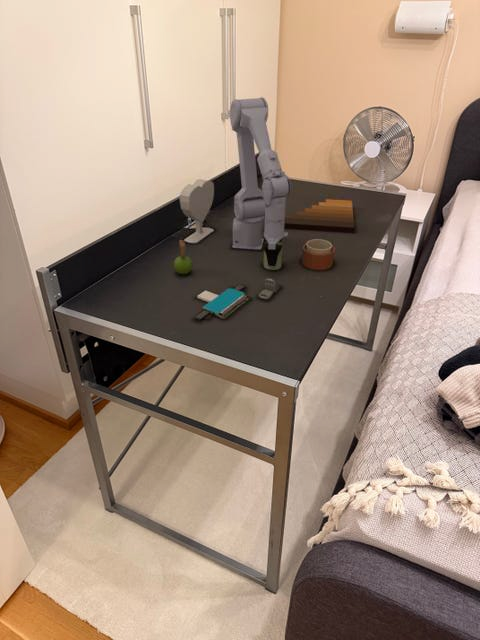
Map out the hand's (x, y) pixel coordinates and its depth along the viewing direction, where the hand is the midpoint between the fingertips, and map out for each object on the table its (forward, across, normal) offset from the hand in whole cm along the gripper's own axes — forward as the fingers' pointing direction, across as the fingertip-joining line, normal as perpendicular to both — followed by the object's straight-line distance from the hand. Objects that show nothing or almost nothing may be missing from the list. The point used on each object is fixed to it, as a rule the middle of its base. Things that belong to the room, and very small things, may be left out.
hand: (272, 261), depth 143 cm
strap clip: (+2, -16, 0) cm, 16 cm away
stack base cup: (+2, +4, -14) cm, 14 cm away
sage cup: (+2, 0, 0) cm, 2 cm away
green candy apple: (+2, -9, +26) cm, 27 cm away
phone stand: (+2, -23, +12) cm, 26 cm away
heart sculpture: (+2, +19, +27) cm, 33 cm away
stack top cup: (+2, +4, -14) cm, 14 cm away
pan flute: (+2, +41, -14) cm, 43 cm away
